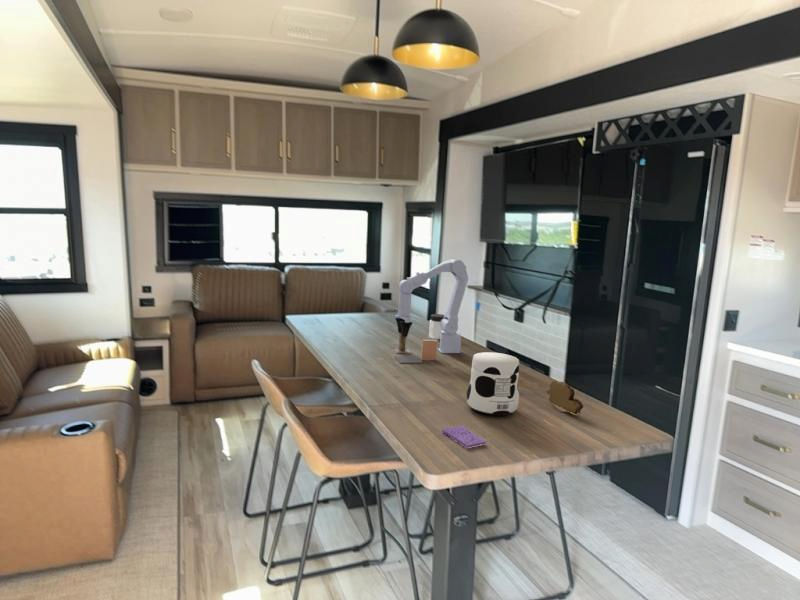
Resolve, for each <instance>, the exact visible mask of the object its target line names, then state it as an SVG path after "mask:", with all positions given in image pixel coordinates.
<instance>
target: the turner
mask: <svg viewBox="0 0 800 600" xmlns="http://www.w3.org/2000/svg"><path fill="white" fill-rule="evenodd" d="M406 340H407V337H403V336H402V333H399V339H398V341H399V342H398V348H396V349H395V348H393V352H394V353H396V354H397V355H398V354H399V355H401V354H402V355H403V354H404V355H405V354H406V355H408V354H409V355H410V354H411V355H412V351H411V350H410V349H409V348H406V343H407V342H406Z"/></svg>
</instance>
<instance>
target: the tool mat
mask: <svg viewBox="0 0 800 600" xmlns="http://www.w3.org/2000/svg"><path fill="white" fill-rule="evenodd" d="M394 359H396V361H397V362H398V363H399V364H400V365H401V364H404V365H405V364H406V365H409V364H414V365H415V364H423V360H421V358H419V357H418V356H417V355H395V356H394Z"/></svg>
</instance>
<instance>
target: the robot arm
mask: <svg viewBox="0 0 800 600" xmlns="http://www.w3.org/2000/svg"><path fill="white" fill-rule="evenodd" d="M465 264H466V263H464V261H462V260H461V259H456V258H449V259H448V260H447V259H446V260H443V262H441V263H439V264H438V265H436V266H434V267H433V268H431V269H429V270H427V271H425V272H423V271H417V272H415V274H414V275H412V276H410V277H408V276H407V277H406V279H402V280H400V282H399V283H398V285H397V286H398V290H399V292H398V293H399V295H398V303H397V304H398V306H397V314H395V315H394V317H395V318H394V319H395V322H396V325H397V331H398V332H397V333H398V334H400V333H402V336H403V337H406V338H407V337H408V335H409V331H410V329H411V327H412V325H413V322H412V321H411V310H412V309H411V307H412V292H413V291H414V290H415V289H418V288H419V287H420V286H423V285H425V284H427V282H428V280H429V279H431V278H432V277H433V278H434V277H435V276H437V275H439V274H441V273H451V274H452V275H453V277H454V278H455V284H454V287H453V290H452V294H451V297H450V299H449V304H448V308H447V311H446V312H445V314H443V315H444V318H443V319H442V320H441V322H440V326H441V328H442V331H441V337H440V339H439V347H437V351H439V352H440V353H441V354H461V353H462V352H461V345H462V336H461V334H460V333H459V332H458V330H459V325H458V324H459V316H458V315H459V312H460V309H461V306H462V305H461V304H462V301H463V298H464V294H465V292H466V288H467V285H468V281H469V276H468V272H467V266H466V265H465ZM457 332H458V333H457Z"/></svg>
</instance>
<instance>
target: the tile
mask: <svg viewBox="0 0 800 600" xmlns="http://www.w3.org/2000/svg"><path fill="white" fill-rule="evenodd" d="M438 340H439V339H421V346H420V347H421V348H420V360H421V361H437V356H438V353H437V352H438V350H437V348H438Z"/></svg>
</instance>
